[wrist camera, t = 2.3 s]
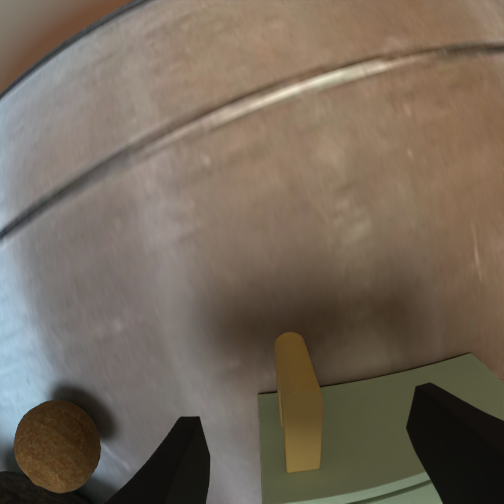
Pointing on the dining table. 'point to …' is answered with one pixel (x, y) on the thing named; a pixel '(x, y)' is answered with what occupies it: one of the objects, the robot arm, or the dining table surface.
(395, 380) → the cupboard door
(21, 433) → the fruit
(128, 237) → the dining table surface
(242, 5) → the dining table surface
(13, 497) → the bowl
